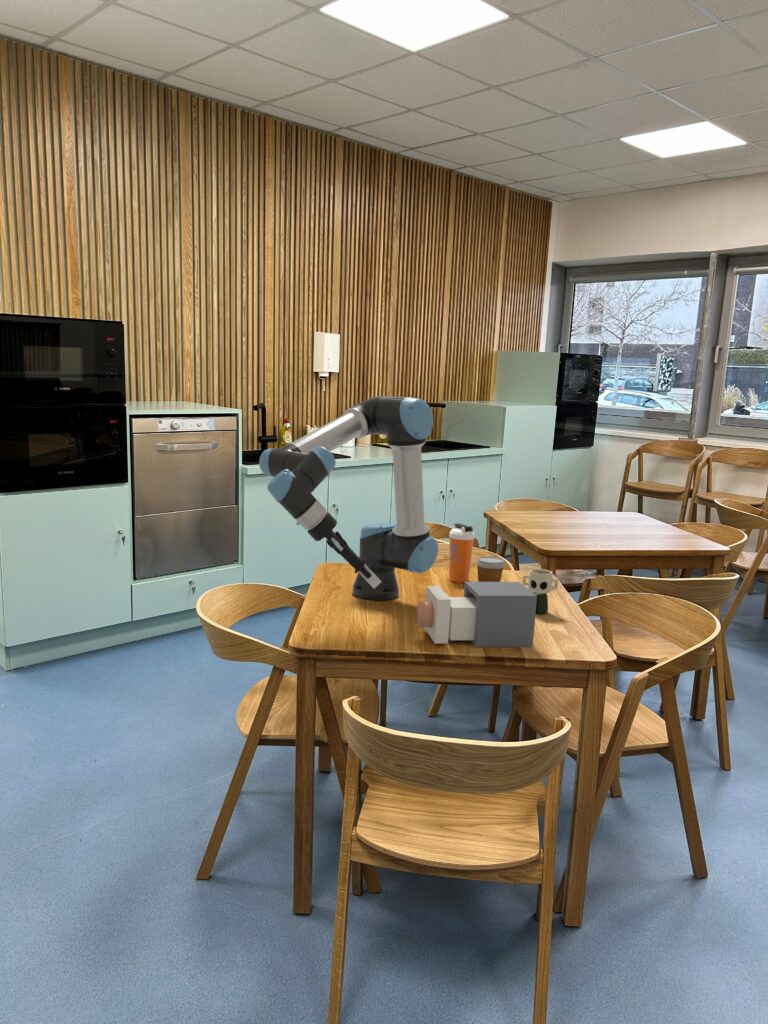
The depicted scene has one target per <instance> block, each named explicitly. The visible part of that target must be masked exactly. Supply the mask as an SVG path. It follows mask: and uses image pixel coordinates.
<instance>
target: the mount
mask: <svg viewBox="0 0 768 1024" xmlns="http://www.w3.org/2000/svg"><path fill="white" fill-rule="evenodd" d="M463 587H464V588H463V597H476V598H477V611H476V624H475V638H474V640H469V641H470V643H471V644H472V645H473V647H474V648H526V647H527V648H528V647H529V648H531V647H534V635H535V625H536V623H535V622H536V612H537V610H536V603H537V595H536V594H534V593H533V592H532V591H530V590H529V588H528V587H526V585H523V583H521V582H520V581H500V582H478V581H468V582H465V583H464V586H463Z"/></svg>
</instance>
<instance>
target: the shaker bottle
mask: <svg viewBox="0 0 768 1024" xmlns="http://www.w3.org/2000/svg"><path fill="white" fill-rule="evenodd" d="M453 526H454V528H452V529H450V531H449V533H448V534H449V535H448V537H449V555H448V556H449V559H448V561H449V562H448V581H450V582H453V583H459V584H462V583H464V584H465V582H470V574H471V573H470V571H471V564H472V558H473V557H472V555H473V550H474V549H473V547H474V540H475V535H476V533H475V532H474V528H473V526H471V525H466V524H463V523H454V524H453Z"/></svg>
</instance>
